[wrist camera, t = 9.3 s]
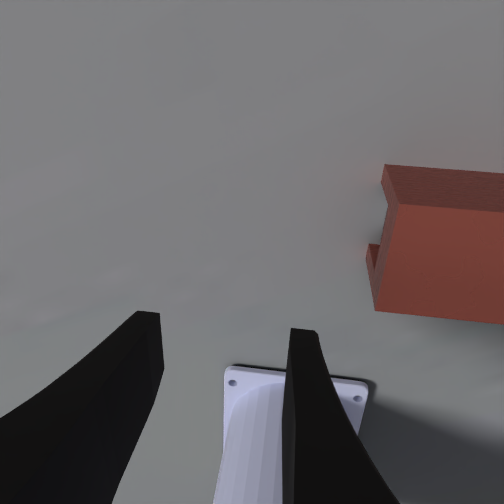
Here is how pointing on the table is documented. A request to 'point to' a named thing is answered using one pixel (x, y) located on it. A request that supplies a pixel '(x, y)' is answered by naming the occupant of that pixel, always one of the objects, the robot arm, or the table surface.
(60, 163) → the table surface
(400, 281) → the red notched block
